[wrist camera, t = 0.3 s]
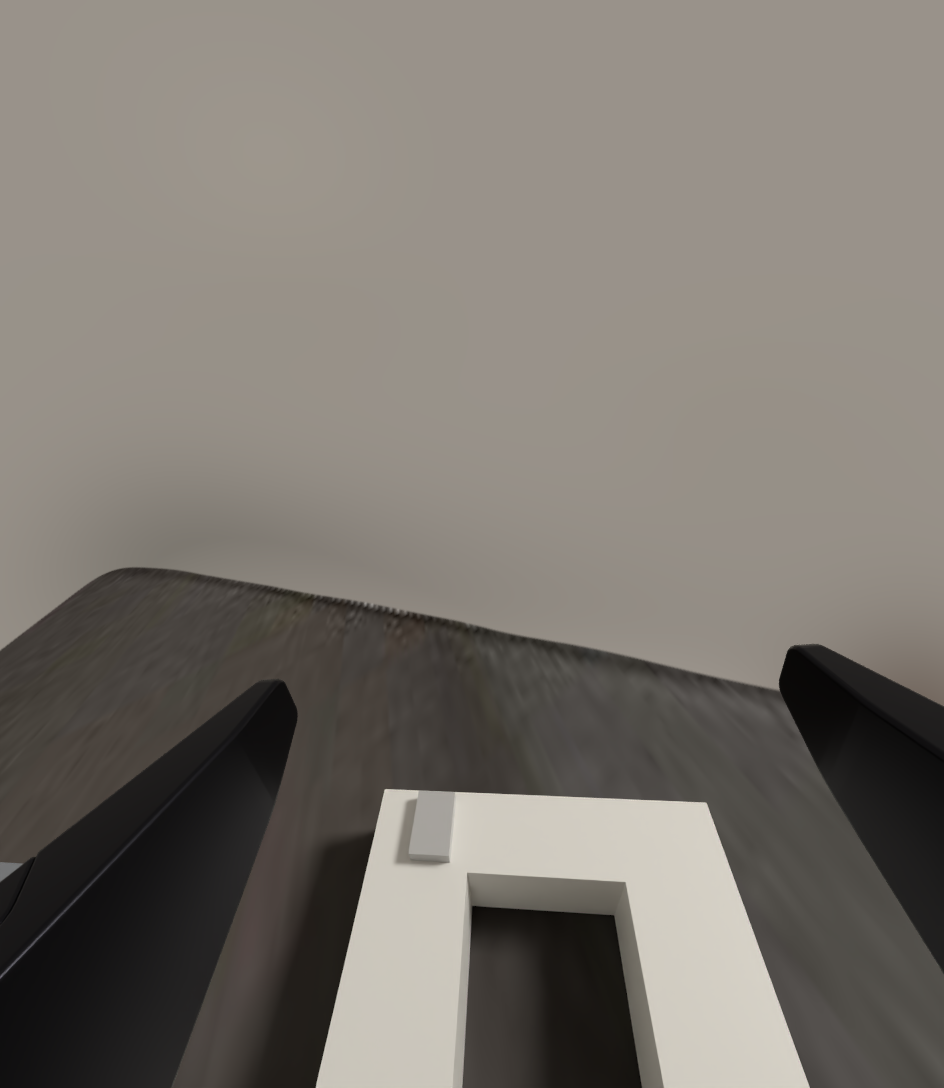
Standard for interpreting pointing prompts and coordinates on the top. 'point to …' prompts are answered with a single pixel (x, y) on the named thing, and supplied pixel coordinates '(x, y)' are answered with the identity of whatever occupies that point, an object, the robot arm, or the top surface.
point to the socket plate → (564, 886)
